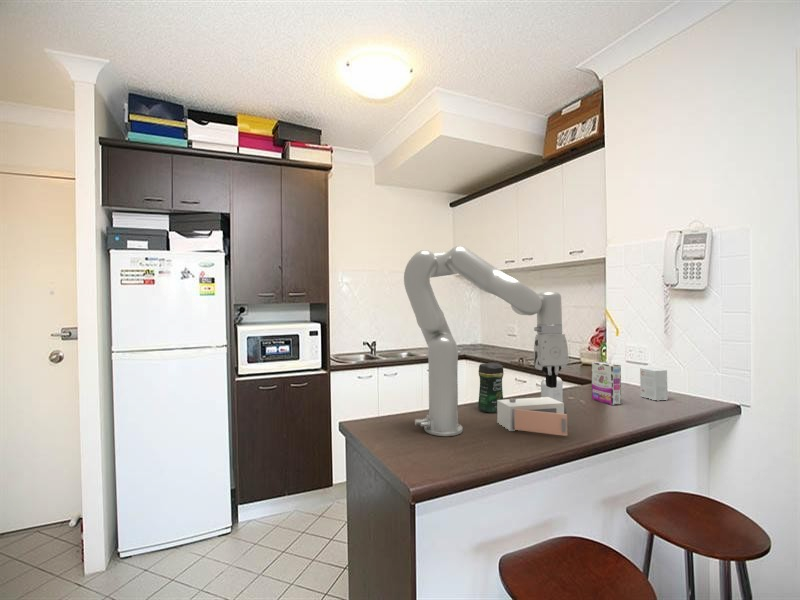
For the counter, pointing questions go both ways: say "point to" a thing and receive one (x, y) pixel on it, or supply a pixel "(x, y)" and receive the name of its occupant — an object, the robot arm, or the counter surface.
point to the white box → (526, 408)
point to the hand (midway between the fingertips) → (551, 386)
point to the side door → (539, 422)
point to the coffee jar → (490, 386)
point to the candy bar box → (606, 383)
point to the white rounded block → (552, 390)
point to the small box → (653, 383)
